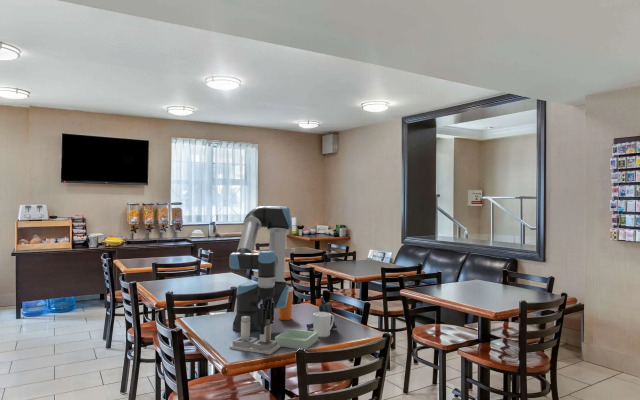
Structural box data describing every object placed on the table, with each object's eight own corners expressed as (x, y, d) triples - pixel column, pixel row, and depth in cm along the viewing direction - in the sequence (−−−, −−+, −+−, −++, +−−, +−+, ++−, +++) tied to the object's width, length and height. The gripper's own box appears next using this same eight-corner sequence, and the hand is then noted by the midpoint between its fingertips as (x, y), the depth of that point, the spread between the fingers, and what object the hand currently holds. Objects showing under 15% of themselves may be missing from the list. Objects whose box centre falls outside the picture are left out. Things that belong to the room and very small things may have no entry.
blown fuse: (258, 347, 184) (259, 320, 185) (263, 345, 188) (263, 317, 188) (267, 348, 183) (267, 320, 183) (271, 346, 187) (271, 318, 187)
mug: (316, 338, 202) (317, 316, 203) (309, 333, 211) (310, 312, 211) (337, 336, 207) (337, 315, 207) (329, 331, 215) (330, 311, 215)
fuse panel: (229, 348, 186) (229, 341, 186) (241, 341, 195) (241, 335, 195) (269, 354, 179) (270, 347, 179) (280, 347, 188) (280, 340, 188)
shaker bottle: (284, 315, 246) (284, 281, 246) (296, 318, 240) (296, 282, 241) (273, 318, 238) (274, 283, 239) (285, 321, 233) (286, 285, 234)
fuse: (238, 344, 188) (239, 317, 188) (243, 342, 192) (244, 315, 192) (246, 346, 186) (247, 318, 187) (251, 343, 190) (251, 316, 190)
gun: (301, 301, 219) (329, 294, 219) (309, 333, 219) (337, 326, 219) (300, 303, 217) (329, 295, 217) (308, 335, 216) (337, 327, 216)
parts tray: (274, 345, 191) (274, 337, 191) (288, 336, 205) (288, 328, 205) (305, 349, 186) (305, 341, 186) (317, 340, 200) (317, 332, 200)
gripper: (264, 290, 177) (263, 346, 176) (282, 284, 193) (281, 335, 192) (249, 288, 180) (247, 344, 179) (267, 282, 195) (266, 333, 195)
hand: (265, 339), depth 186 cm, fingers closed on blown fuse, 4 cm apart
